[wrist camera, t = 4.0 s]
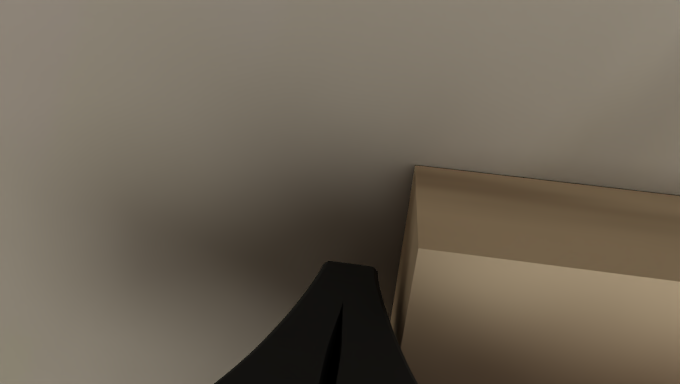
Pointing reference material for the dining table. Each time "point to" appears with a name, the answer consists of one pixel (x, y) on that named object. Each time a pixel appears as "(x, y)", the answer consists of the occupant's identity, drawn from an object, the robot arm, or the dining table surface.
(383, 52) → the dining table surface
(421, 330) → the oak plank
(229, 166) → the dining table surface
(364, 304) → the robot arm
